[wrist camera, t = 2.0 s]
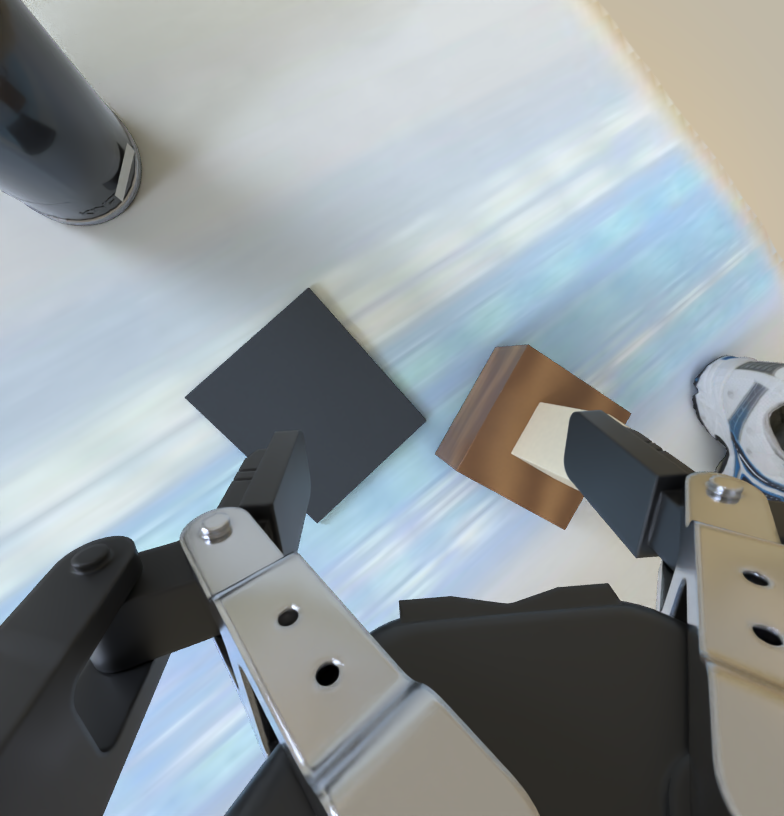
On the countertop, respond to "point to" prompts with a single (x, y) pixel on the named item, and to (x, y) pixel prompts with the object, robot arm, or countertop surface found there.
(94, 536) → the countertop surface
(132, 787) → the countertop surface
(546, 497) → the brown box
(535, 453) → the cream box
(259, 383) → the rubber mat
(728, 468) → the athletic shoe
